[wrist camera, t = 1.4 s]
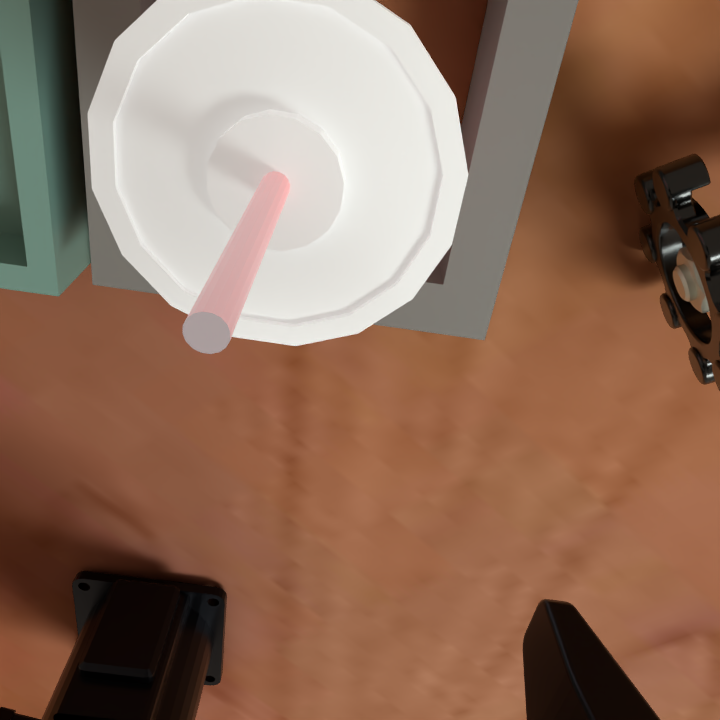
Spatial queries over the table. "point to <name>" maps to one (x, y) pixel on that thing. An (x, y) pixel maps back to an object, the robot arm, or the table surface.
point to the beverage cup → (277, 164)
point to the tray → (40, 149)
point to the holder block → (480, 139)
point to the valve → (685, 257)
